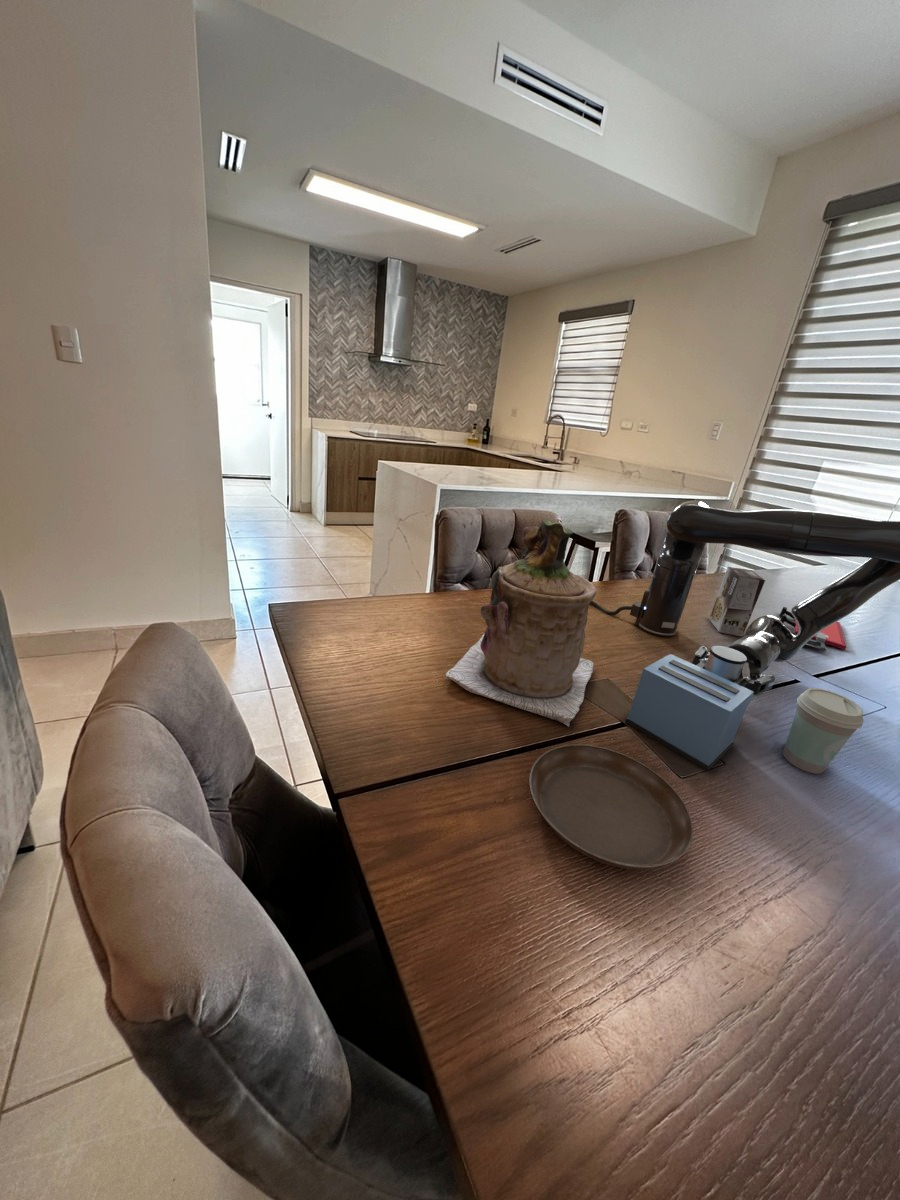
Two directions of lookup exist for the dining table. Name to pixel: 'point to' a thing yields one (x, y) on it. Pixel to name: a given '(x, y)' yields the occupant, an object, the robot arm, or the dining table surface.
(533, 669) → the cookie jar
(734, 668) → the canister
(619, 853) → the plant saucer
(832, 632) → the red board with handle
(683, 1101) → the dining table surface
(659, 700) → the toaster
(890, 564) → the robot arm
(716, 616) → the coffee box
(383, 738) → the dining table surface
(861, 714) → the coffee cup
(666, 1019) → the dining table surface
